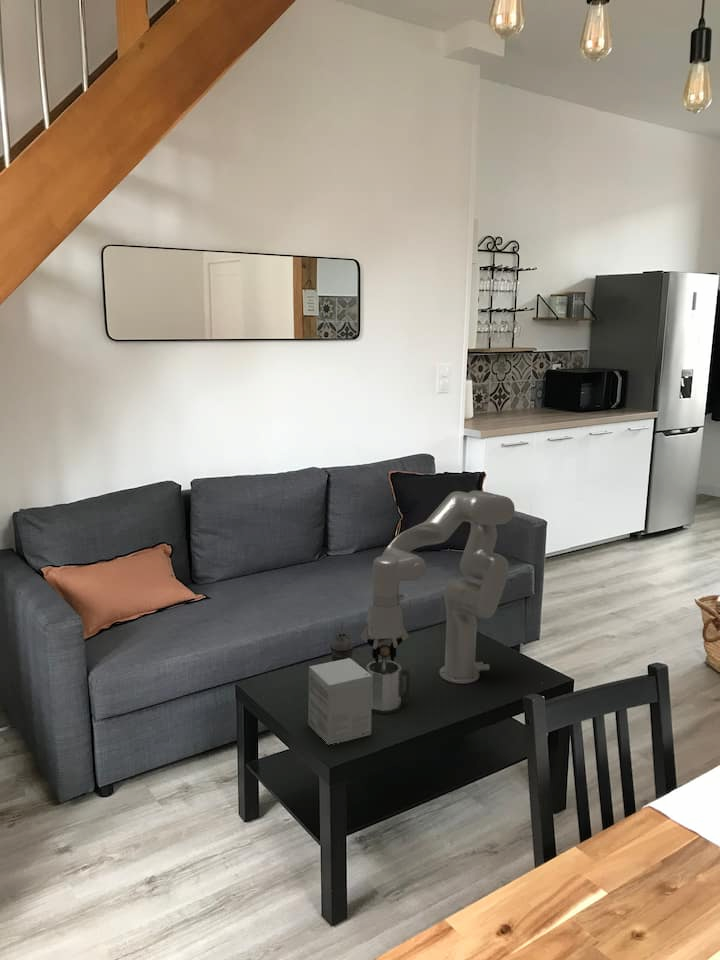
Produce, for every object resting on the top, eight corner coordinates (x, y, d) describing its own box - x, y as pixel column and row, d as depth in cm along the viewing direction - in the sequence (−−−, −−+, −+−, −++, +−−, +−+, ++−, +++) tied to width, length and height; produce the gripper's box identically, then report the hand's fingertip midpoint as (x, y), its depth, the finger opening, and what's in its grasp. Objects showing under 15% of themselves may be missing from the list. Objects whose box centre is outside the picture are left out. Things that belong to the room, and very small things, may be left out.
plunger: (393, 689, 232) (394, 638, 229) (398, 701, 224) (400, 648, 221) (368, 691, 231) (369, 639, 227) (372, 703, 223) (373, 649, 220)
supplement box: (349, 714, 223) (350, 656, 219) (371, 735, 211) (373, 675, 208) (307, 724, 217) (307, 665, 213) (328, 746, 205) (328, 685, 202)
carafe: (404, 695, 234) (405, 658, 232) (412, 712, 224) (413, 673, 222) (362, 698, 232) (363, 660, 230) (368, 715, 222) (369, 676, 220)
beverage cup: (354, 677, 246) (355, 617, 242) (351, 687, 239) (352, 626, 235) (331, 675, 247) (332, 616, 243) (328, 686, 240) (329, 624, 236)
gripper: (411, 594, 227) (409, 653, 230) (354, 596, 224) (353, 655, 228) (417, 603, 219) (415, 663, 223) (358, 605, 217) (357, 666, 220)
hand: (384, 659), depth 225 cm, fingers closed on plunger, 4 cm apart
